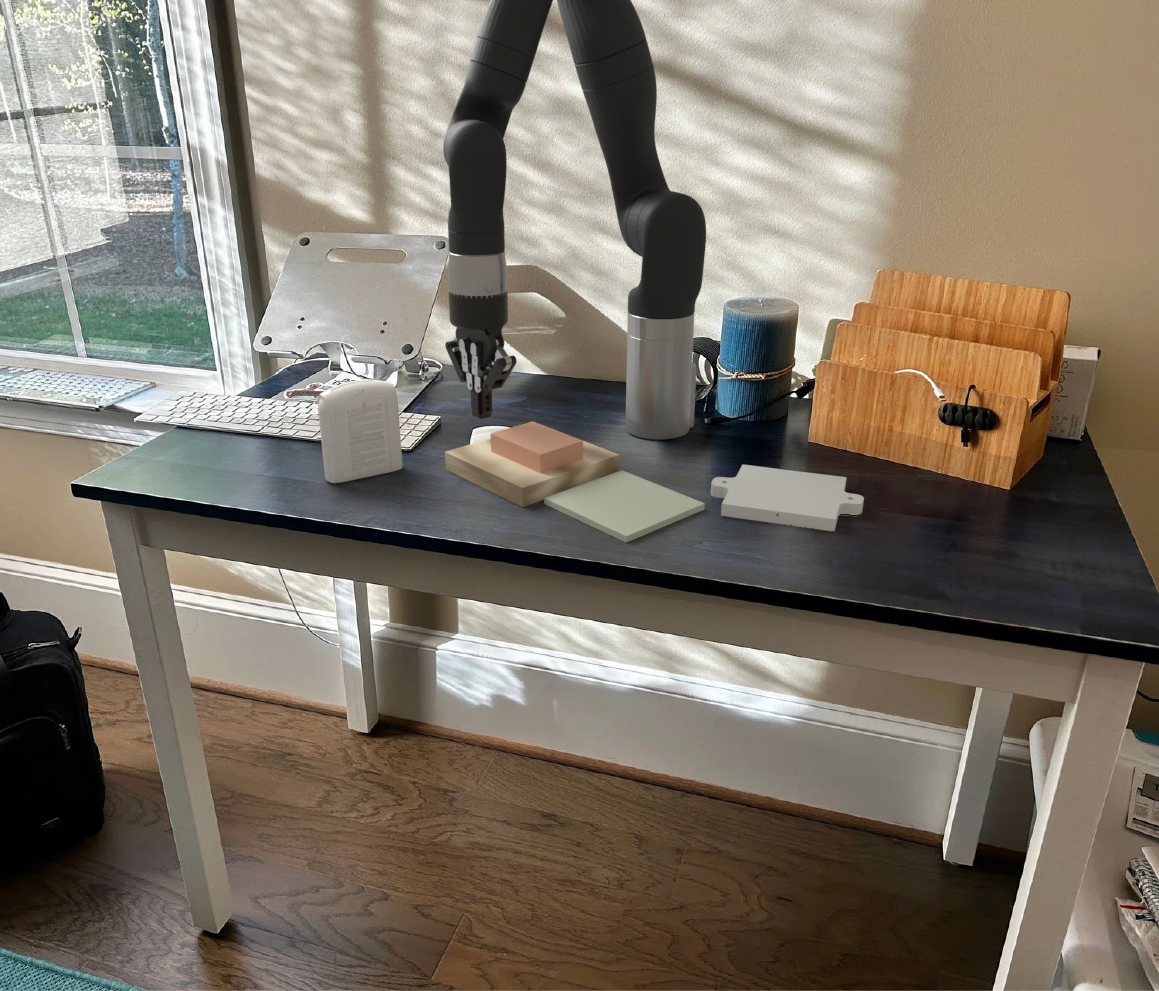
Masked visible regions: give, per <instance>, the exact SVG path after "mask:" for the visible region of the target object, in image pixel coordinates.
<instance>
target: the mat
mask: <svg viewBox="0 0 1159 991" xmlns="http://www.w3.org/2000/svg"><path fill="white" fill-rule="evenodd" d="M543 501H544V502H543V504H544V505H546V506H548V507H550V508H551V509H554V510H556V511H559V512H561V513H562V514H564V515H567V516H569V517H571V518H573V519H575V520H577V521H579V522H581V523H584V524H586V525H588V526H591V527H592V528H594V529H597V530H598V531H601V532H602V533H605V534H606V535H609V536H611V537H614V538H615V539H618V540H620V541H622V542H624V543H629V542H631V541H633V540H636V539H638V538H642V537H643V536H645V535H647V534H650V533H652V532H654V531H656V530H659V529H662V528H664V527H667V526H669V525H671V524H674V523H676V522H678V521H680V520H683V519H686V518H688V517H690V516H692V515H695V514H697V513H699V512H703V511H704V510H705V505H706V504H705V502H702V501H700V500H697V499H695V498H692V497H690V496H688V495H686V494H682V493H680V492H677V491H675V490H672V489H670V488H667V487H665V486H662V485H660V484H658V483H655V482H653V481H650V480H649V479H648V480H647V479H644V478H643V477H640V476H637V475H635V474H632V473H630V472H627V471H625V470H623V469H622V470H619V471H618V472H615V473H613V474H610V475H607V476H604V477H601V478H599V479H596V480H593V481H590V482H587V483H585V484H582V485H579V486H576V487H573V488H571V489H568V490H565V491H562V492H559V493H557V494H554V495H551V496H548V497H545V498H544V500H543Z"/></svg>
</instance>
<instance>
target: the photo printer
mask: <svg viewBox="0 0 1159 991" xmlns="http://www.w3.org/2000/svg"><path fill="white" fill-rule="evenodd" d="M398 398H399V397H398V393H397V390H396V388H395V385H394V384H393V383H391V382H389V381H386V380H380V379H359V380H352V381H347V382H345V383H341V384H338V385H335V386H333V387H330V388H328V389H326V390H324V391H321V393H319V395H318V396H317V412H318V413H317V414H318V419H319V420H318V421H319V429H320V430H319V431H320V440H321V451H322V460H323V467H324V478H325V480H326V482H328V483H331V484H338V483H340V484H341V483H346V482H350V481H354V480H359V479H364V478H368V477H375V476H378V475H379V476H380V475H384V474H388V473H393V472H396V471H400V470H402V468H403V455H402V454H403V453H402V440H401V429H400V428H401V427H400V414H399V413H400V411H399V399H398Z"/></svg>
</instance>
